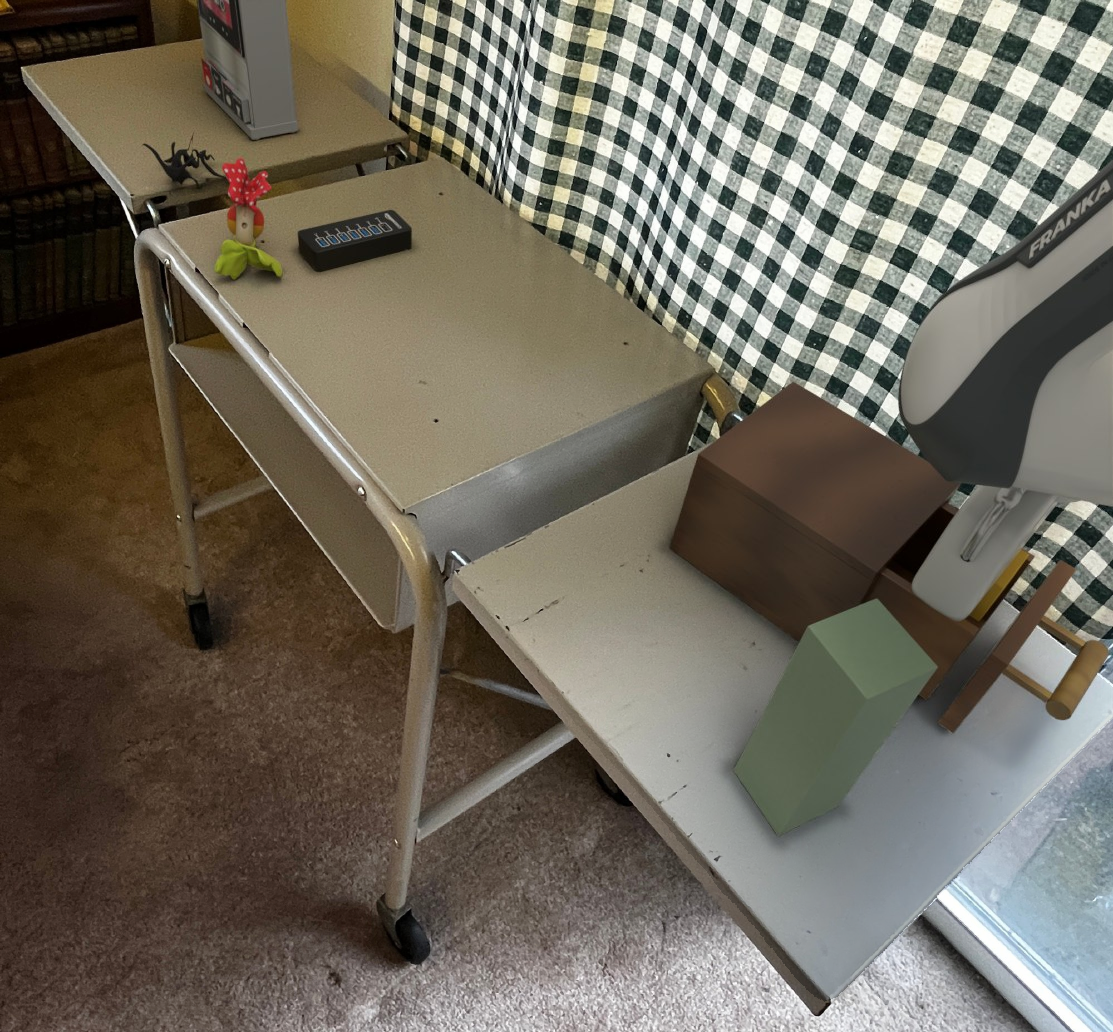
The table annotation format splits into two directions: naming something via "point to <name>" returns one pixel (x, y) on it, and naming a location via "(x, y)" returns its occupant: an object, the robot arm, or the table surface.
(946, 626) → the drawer
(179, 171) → the creature
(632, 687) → the table surface
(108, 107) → the table surface
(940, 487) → the cabinet
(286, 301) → the table surface
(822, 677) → the green rectangular block
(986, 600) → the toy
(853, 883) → the table surface
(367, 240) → the multiport hub
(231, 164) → the multicoloured upright piece
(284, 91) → the cassette tape recorder
